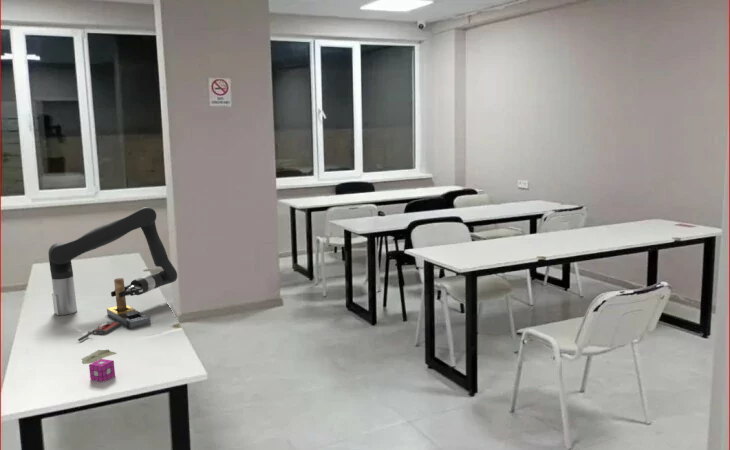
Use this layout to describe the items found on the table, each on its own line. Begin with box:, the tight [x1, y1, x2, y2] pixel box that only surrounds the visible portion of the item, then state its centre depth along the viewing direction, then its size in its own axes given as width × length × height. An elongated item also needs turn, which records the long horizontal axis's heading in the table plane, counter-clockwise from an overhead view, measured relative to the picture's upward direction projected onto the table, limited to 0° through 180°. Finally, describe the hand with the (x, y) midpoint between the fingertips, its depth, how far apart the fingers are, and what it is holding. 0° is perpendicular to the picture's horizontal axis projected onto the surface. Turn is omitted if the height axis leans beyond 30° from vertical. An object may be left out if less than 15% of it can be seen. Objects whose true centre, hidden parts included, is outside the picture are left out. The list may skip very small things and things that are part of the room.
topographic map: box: [81, 349, 117, 365], centre depth 232 cm, size 14×14×2 cm
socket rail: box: [105, 304, 154, 331], centre depth 275 cm, size 11×28×4 cm, turn 42°
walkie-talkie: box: [77, 321, 121, 342], centre depth 259 cm, size 9×4×20 cm
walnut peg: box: [113, 277, 127, 312], centre depth 279 cm, size 4×4×16 cm
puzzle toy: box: [88, 358, 116, 383], centre depth 213 cm, size 6×6×6 cm
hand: (115, 294), depth 276 cm, fingers closed on walnut peg, 4 cm apart
